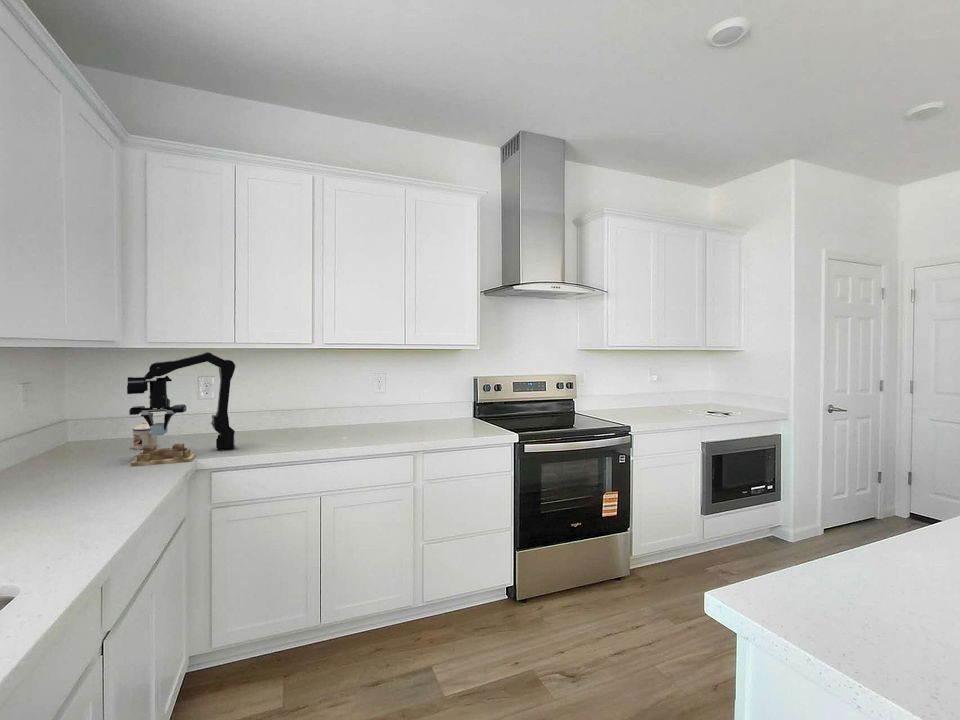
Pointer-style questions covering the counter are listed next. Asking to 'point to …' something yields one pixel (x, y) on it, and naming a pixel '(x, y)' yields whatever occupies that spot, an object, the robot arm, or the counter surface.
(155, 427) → the light blue block
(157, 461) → the jig
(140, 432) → the teacup with lid
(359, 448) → the counter surface
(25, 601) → the counter surface
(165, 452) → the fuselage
